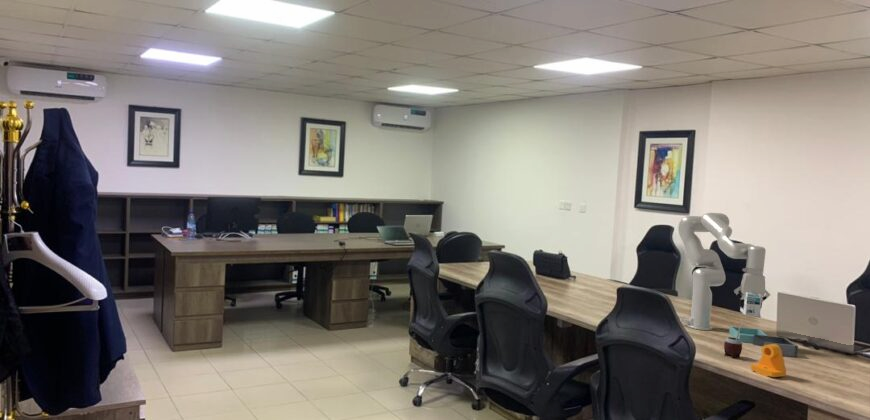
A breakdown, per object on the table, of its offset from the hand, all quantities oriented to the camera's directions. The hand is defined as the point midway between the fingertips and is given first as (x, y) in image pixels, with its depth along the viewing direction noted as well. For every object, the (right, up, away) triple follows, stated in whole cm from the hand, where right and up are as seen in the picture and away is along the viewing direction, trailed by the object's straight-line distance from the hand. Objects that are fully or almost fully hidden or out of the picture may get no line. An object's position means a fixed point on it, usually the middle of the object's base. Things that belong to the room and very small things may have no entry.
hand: (750, 308), depth 300 cm
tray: (+5, -17, +11) cm, 21 cm away
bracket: (-18, -19, -49) cm, 56 cm away
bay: (+5, -18, -10) cm, 21 cm away
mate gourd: (-21, -18, -25) cm, 37 cm away
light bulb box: (0, -3, 0) cm, 3 cm away
